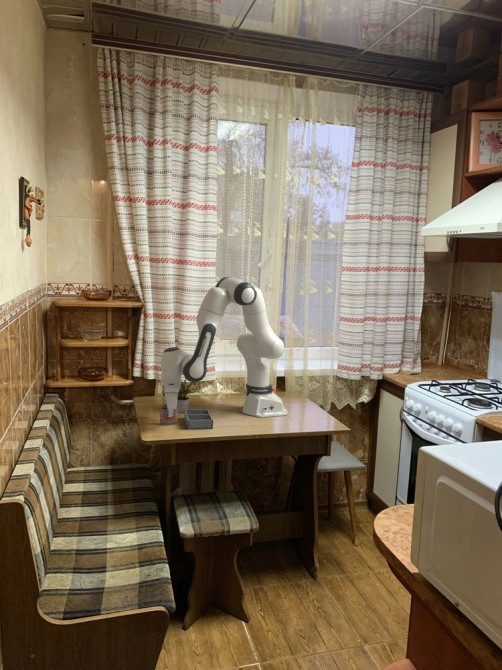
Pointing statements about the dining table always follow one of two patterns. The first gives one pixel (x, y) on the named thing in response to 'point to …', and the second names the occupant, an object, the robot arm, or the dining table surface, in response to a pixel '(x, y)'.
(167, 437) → the dining table surface
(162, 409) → the red grey packet
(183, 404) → the house plant
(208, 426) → the cell holder
